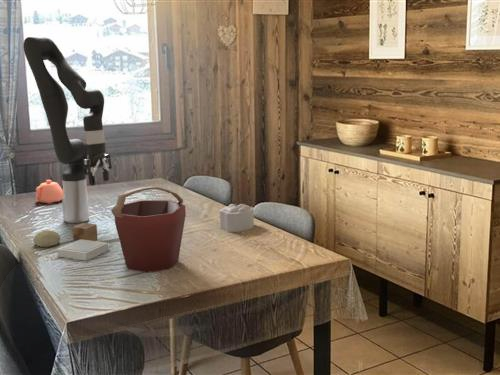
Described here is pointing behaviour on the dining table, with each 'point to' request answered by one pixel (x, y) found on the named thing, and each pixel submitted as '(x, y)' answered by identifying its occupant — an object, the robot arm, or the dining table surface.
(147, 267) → the bucket
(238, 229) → the lumpy-topped squat cylinder
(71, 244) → the tray
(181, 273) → the dining table surface
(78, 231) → the walnut cube
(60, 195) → the sugar bowl
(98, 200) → the dining table surface
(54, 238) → the sea urchin shell
